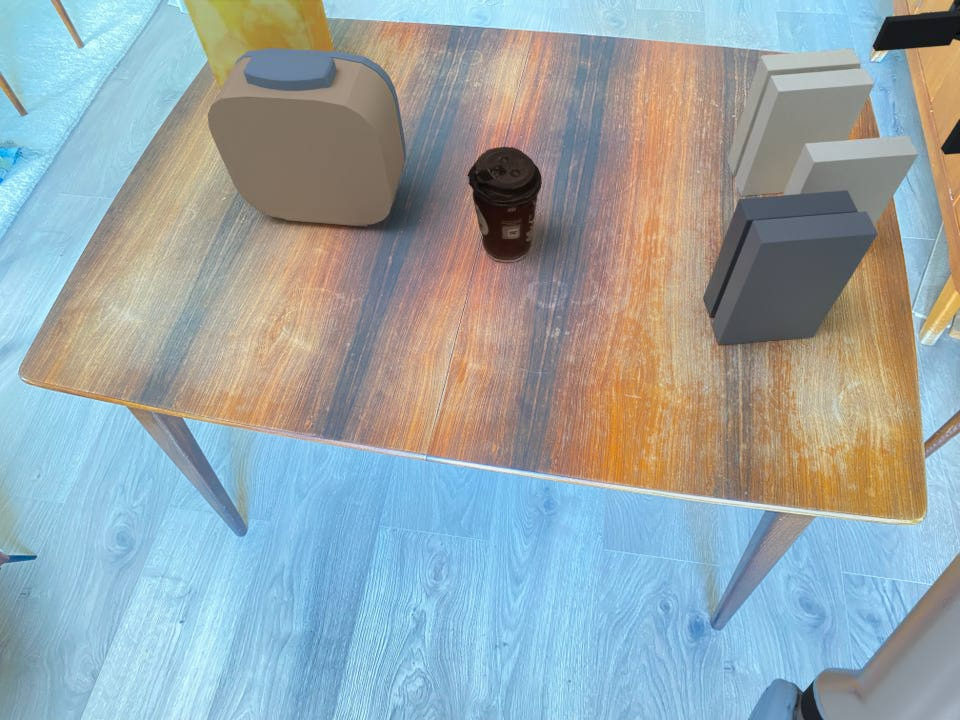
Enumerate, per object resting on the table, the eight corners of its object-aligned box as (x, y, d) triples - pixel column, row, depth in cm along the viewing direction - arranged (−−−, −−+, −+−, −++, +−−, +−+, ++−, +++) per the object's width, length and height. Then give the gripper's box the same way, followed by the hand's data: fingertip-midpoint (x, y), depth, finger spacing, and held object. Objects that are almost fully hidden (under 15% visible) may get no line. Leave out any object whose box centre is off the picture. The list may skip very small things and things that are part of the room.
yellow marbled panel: (350, 59, 113) (314, -104, 93) (327, 106, 106) (283, -58, 86) (251, 51, 115) (195, -108, 95) (222, 97, 109) (156, -64, 89)
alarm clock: (413, 185, 96) (389, 39, 78) (399, 235, 90) (369, 91, 72) (273, 175, 98) (218, 31, 80) (251, 223, 93) (187, 81, 75)
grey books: (813, 337, 79) (878, 233, 64) (717, 345, 79) (761, 243, 64) (794, 290, 83) (851, 182, 68) (703, 297, 83) (741, 191, 68)
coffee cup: (467, 265, 87) (459, 188, 76) (478, 218, 91) (472, 138, 81) (535, 272, 86) (537, 194, 75) (543, 224, 90) (546, 144, 80)
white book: (856, 257, 85) (919, 153, 72) (767, 264, 85) (814, 162, 72) (847, 239, 87) (907, 135, 73) (760, 246, 87) (804, 143, 73)
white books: (822, 189, 91) (874, 83, 78) (740, 196, 92) (778, 91, 78) (805, 154, 95) (852, 47, 82) (726, 161, 95) (760, 55, 82)
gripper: (1240, 204, 52) (959, 227, 51) (1061, 20, 65) (839, 37, 65) (1340, 120, 45) (1020, 146, 45) (1119, -64, 59) (874, -45, 59)
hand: (913, 82), depth 55 cm, fingers open, 13 cm apart
